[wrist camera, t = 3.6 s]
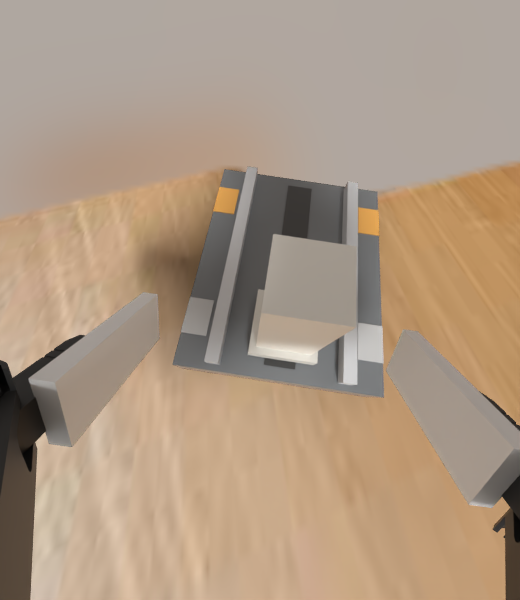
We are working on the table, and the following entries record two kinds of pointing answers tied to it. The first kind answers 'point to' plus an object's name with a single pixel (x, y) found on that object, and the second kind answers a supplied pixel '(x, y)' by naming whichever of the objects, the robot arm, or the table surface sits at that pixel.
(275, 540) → the table surface
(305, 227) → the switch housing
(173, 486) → the table surface
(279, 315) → the switch slider
